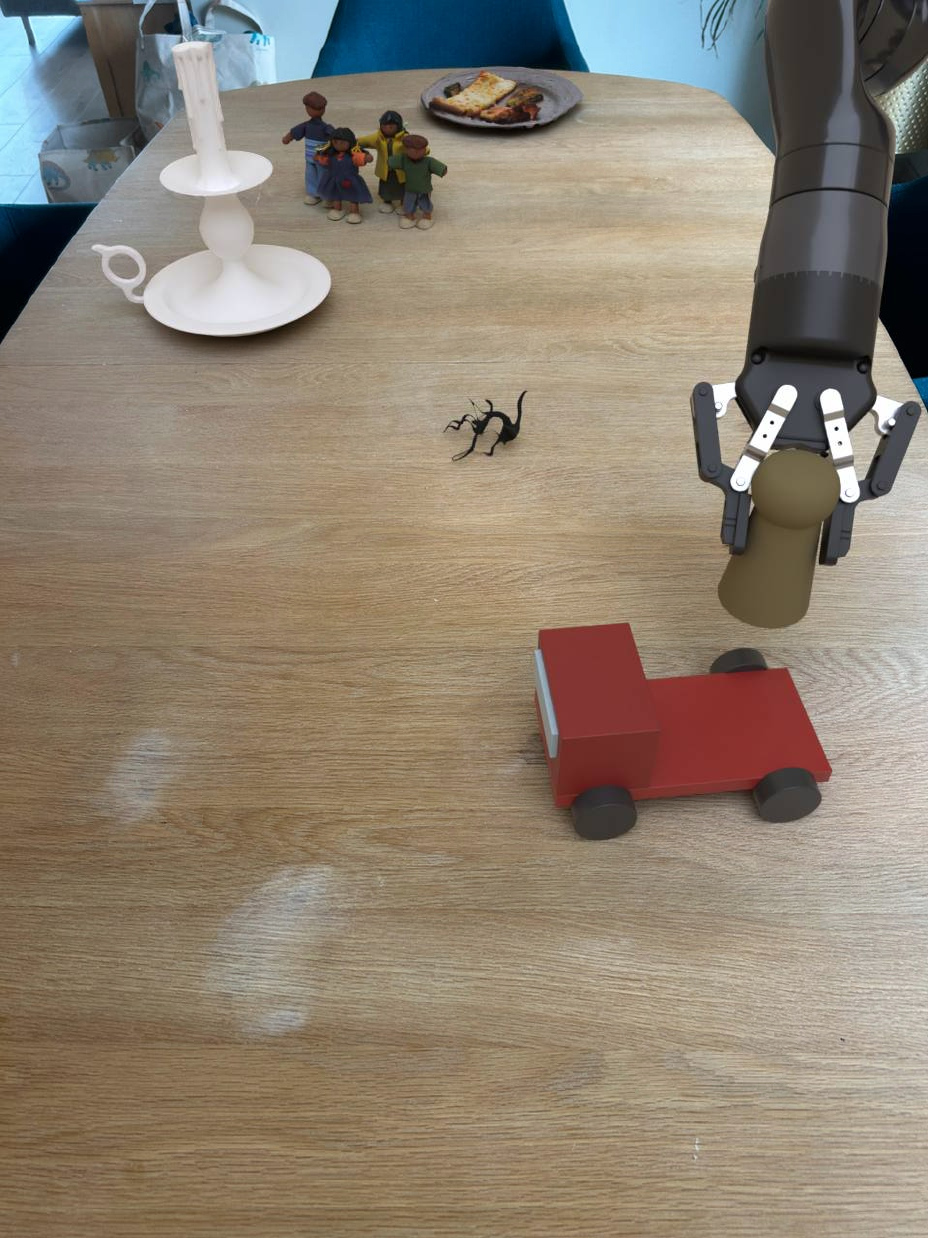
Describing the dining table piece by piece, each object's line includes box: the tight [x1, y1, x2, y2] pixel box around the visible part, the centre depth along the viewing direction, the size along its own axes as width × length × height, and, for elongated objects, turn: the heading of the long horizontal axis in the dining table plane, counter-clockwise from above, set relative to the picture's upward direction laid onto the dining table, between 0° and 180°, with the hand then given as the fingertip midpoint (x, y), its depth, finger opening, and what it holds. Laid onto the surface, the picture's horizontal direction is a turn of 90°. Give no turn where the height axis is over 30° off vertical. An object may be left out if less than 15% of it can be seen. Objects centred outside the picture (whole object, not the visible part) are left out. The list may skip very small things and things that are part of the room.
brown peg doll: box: [717, 449, 841, 630], centre depth 63 cm, size 6×6×11 cm
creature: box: [442, 390, 528, 462], centre depth 93 cm, size 8×5×8 cm
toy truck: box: [532, 622, 833, 841], centre depth 66 cm, size 18×12×9 cm, turn 96°
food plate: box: [420, 66, 584, 131], centre depth 155 cm, size 25×23×4 cm
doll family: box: [281, 90, 448, 230], centre depth 127 cm, size 23×9×13 cm, turn 80°
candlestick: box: [91, 35, 332, 337], centre depth 103 cm, size 21×25×28 cm
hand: (782, 558), depth 62 cm, fingers closed on brown peg doll, 5 cm apart
